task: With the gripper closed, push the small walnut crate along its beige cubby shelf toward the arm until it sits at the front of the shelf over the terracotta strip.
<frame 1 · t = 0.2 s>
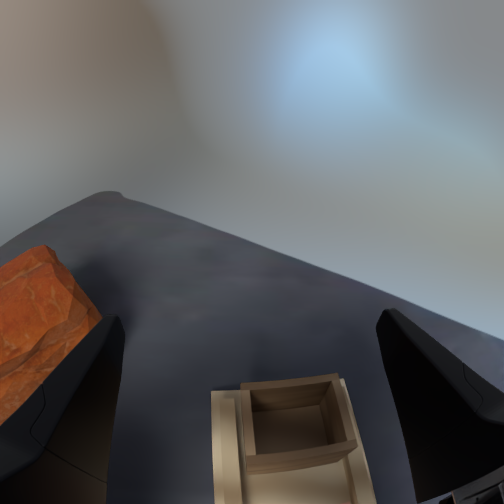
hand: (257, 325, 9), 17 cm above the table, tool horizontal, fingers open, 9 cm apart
bread: (17, 374, 21), on the table
beige cubby shelf: (295, 493, 15), on the table
crate: (292, 428, 18), point 3 cm above the table, slide at 10.0 cm
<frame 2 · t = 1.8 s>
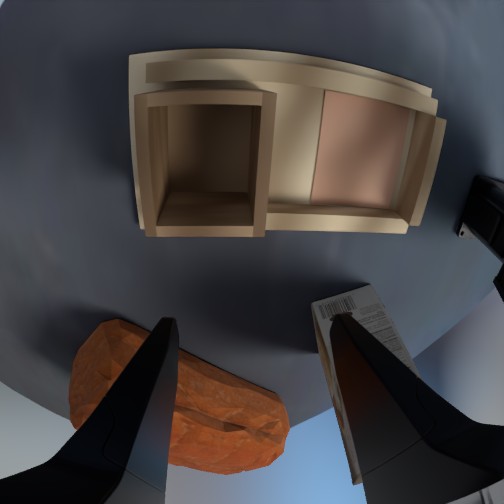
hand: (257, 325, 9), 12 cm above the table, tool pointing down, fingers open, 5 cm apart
bread: (182, 383, 33), on the table
coffee box: (342, 320, 28), on the table
beige cubby shelf: (288, 144, 17), on the table
crate: (206, 154, 14), point 3 cm above the table, slide at 10.0 cm
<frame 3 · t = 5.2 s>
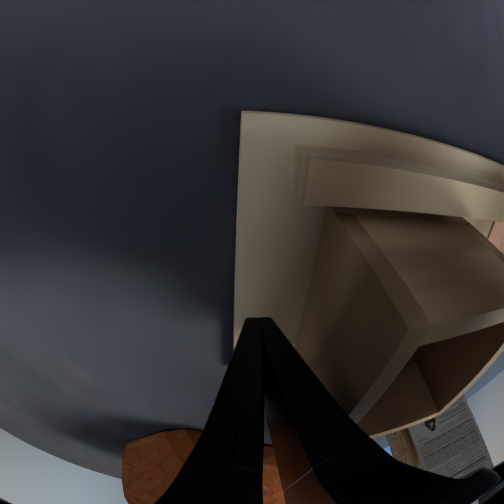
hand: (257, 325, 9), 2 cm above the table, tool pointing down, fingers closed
bread: (244, 458, 27), on the table
coffee box: (414, 400, 22), on the table
beige cubby shelf: (441, 271, 12), on the table
crate: (404, 333, 9), point 3 cm above the table, slide at 9.3 cm, touching gripper
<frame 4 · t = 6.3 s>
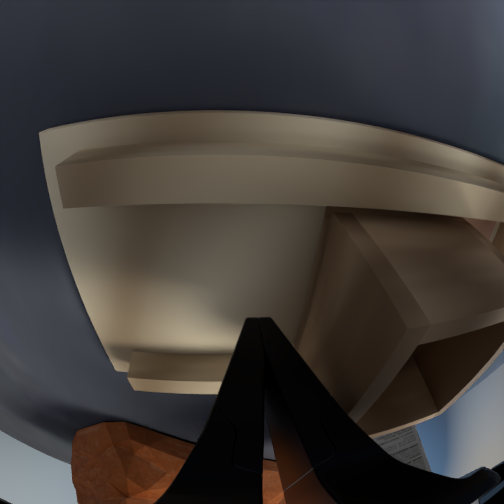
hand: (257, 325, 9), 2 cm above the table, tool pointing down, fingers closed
bread: (192, 458, 27), on the table
coffee box: (361, 414, 22), on the table
beige cubby shelf: (328, 276, 11), on the table
crate: (403, 333, 9), point 3 cm above the table, slide at 3.1 cm, touching gripper
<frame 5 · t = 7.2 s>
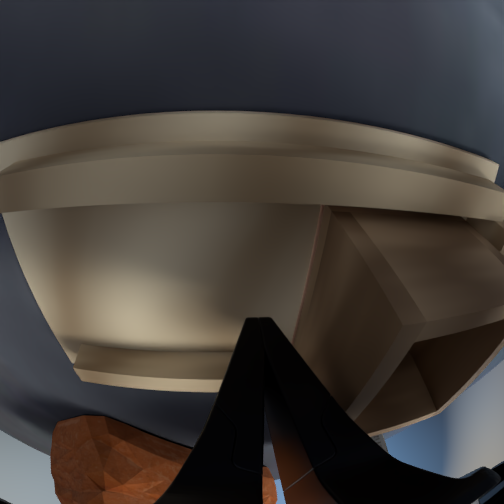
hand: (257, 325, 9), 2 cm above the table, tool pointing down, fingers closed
bread: (169, 456, 26), on the table
beige cubby shelf: (255, 276, 11), on the table
crate: (402, 332, 9), point 3 cm above the table, slide at 0.2 cm, touching gripper
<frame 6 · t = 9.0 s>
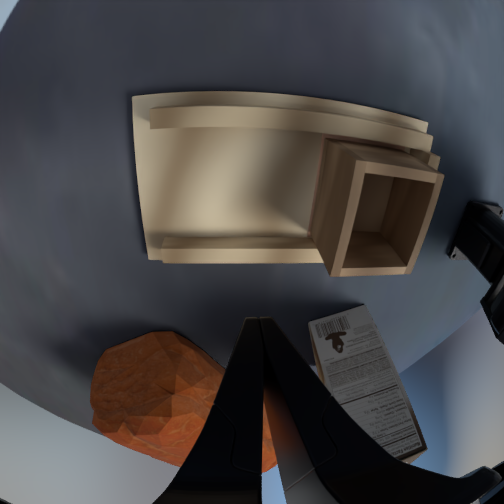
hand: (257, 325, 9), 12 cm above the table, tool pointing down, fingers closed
bread: (198, 392, 35), on the table
coffee box: (338, 336, 29), on the table
beige cubby shelf: (287, 182, 19), on the table
crate: (372, 206, 17), point 3 cm above the table, slide at 0.1 cm
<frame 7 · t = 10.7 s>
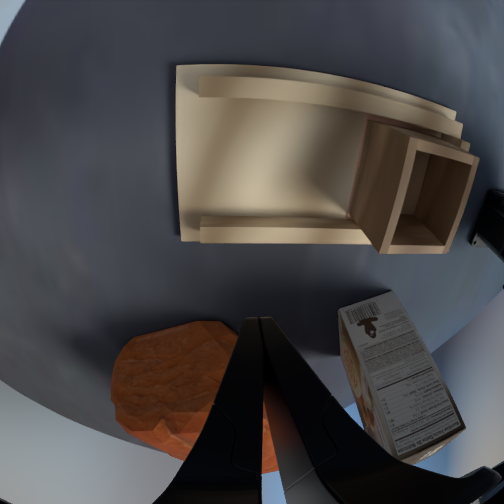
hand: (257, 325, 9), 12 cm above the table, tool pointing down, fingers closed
bread: (219, 387, 34), on the table
coffee box: (364, 324, 29), on the table
beige cubby shelf: (329, 162, 18), on the table
crate: (412, 186, 16), point 3 cm above the table, slide at 0.1 cm
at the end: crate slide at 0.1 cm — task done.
